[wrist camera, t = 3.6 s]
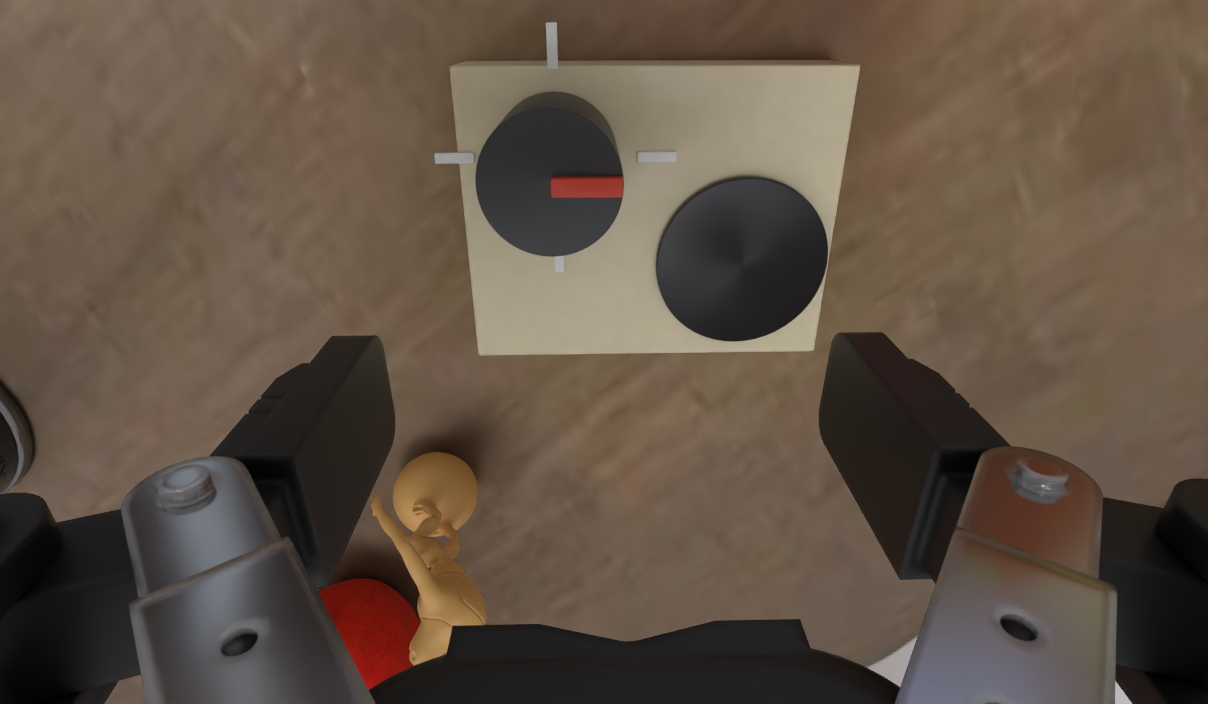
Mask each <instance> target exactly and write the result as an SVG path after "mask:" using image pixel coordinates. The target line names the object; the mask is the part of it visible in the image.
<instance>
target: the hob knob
mask: <svg viewBox="0 0 1208 704" xmlns="http://www.w3.org/2000/svg"><path fill="white" fill-rule="evenodd" d="M475 186H476V193H477V198H478V201H479V204H480V207H481V209H482V212H483V214H484V216H485V217H486V219H487V221H488V223H489V224H490V225H491V226H492V228H493V229H494V230H495V231H496V232H497V233H498V234H499V235H500V236H501V237H502V238H503V239H504V240H506V241H507V242H508V243H510V244H511V245H513V246H514V247H516V248H518V249H520V250H523V251H525V252H528V253H531V254H534V255H540V256H549V257H555V256H565V255H570V254H573V253H576V252H579V251H581V250H583V249H585V248H587V247H589V246H591V245H592V244H594V243H595V242H596V241H598V240H599V239H600V238H601V237H602V236H603V235H604V234H605V233H606V232H607V231H608V229H609V228H610V227H611V225H612V224H613V222H614V220H615V218H616V216H617V215H618V212H619V209H620V207H621V203H622V199H623V192H624V176H623V170H622V165H621V161H620V157H619V153H618V149H617V144H616V140H615V137H614V134H613V132H612V130H611V127H610V125H609V124H608V122H607V120H606V119H605V117H604V116H603V115H602V114H601V113H600V111H599V110H597V109H596V108H595V107H594V106H593V105H592V104H590V103H589V102H587V101H586V100H584V99H582V98H580V97H578V96H575V95H572V94H569V93H564V92H554V91H553V92H543V93H539V94H535V95H533V96H530V97H528V98H526V99H524V100H522V101H521V102H520V103H518V104H517V105H516V106H514V107H513V108H512V109H511V110H510V111H509V113H508V114H507V115H506V116H505V117H504V119H503V120H502V121H501V122H500V124H499V125H498V126H497V127H496V128H495V130H494V131H493V132H492V133H491V135H490V136H489V137H488V139H487V140H486V142H485V144H484V146H483V147H482V150H481V152H480V155H479V158H478V162H477V166H476V174H475Z"/></svg>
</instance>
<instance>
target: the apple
mask: <svg viewBox="0 0 1208 704" xmlns="http://www.w3.org/2000/svg"><path fill="white" fill-rule="evenodd" d="M318 593H319V595H320V597H321V599H322V601H323V603H324V605H325V607H326V609H327V610H328V612H329V614H330V616H331V618H332V620H333V622H334V624H335V626H336V628H337V630H338V632H339V634H340V636H341V638H342V640H343V641H344V643H345V645H346V647H347V649H348V651H349V653H350V655H351V657H352V659H353V661H354V663H355V665H356V667H357V669H358V671H359V672H360V674H361V676H362V678H363V680H364V682H365V684H366V686H367V688H368V690H369V689H371V688H372V687H374V686H376V685H377V684H379V683H381V682H382V681H384V680H386V679H387V678H389V677H391V676H392V675H395V674H397V673H399V672H401V671H403V670H405V669H407V668H409V667H411V666H414V665H413V664H412V663H411V661H410V659H409V655H410V649H409V648H410V643H411V641H412V639H413V637H414V635H415V634H416V632H417V630H418V628H419V626H420V624H421V623H420V621H419V619H418V618H417V616H416V614H415V612H414V611H413V609H412V607H411V605H410V604H409V602H408V601H407V600H406V599H404V598H403V597H402V596H401V595H400V594H399V593H398V592H397V591H396V590H395V589H393V588H391V587H389V586H388V585H386V584H384V583H383V582H381V581H377V580H373V579H369V578H361V579H350V580H346V581H343V582H340V583H336V584H333V585H330V586H328V587H325V588H324V589H322V590H321V591H319V592H318Z"/></svg>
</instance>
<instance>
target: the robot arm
mask: <svg viewBox="0 0 1208 704" xmlns="http://www.w3.org/2000/svg"><path fill="white" fill-rule="evenodd" d="M819 428H820V434H821V437H822V440H823V443H824V445H825V446H826V448H827V450H828V452H829V454H830V455H831V457H832V459H833V461H834V462H835V464H836V466H837V468H838V470H839V471H840V473H841V475H842V477H843V479H844V480H845V482H846V484H847V486H848V488H849V489H850V491H851V493H852V495H853V496H854V498H855V500H856V502H857V504H858V505H859V507H860V509H861V511H862V513H863V514H864V516H865V518H866V520H867V522H868V523H869V525H870V527H871V529H872V530H873V532H874V534H875V536H876V538H877V539H878V541H879V543H880V545H881V547H882V548H883V550H884V552H885V554H886V556H887V557H888V559H889V561H890V563H891V564H892V566H893V568H894V570H895V572H896V573H897V575H898V577H899V579H900V580H904V579H933V581H934V582H935V584H936V585H935V588H934V591H933V594H932V597H931V600H930V602H929V605H928V608H927V611H926V614H925V617H924V620H923V623H922V626H921V629H920V632H919V634H918V637H917V640H916V643H915V646H914V649H913V652H912V655H911V658H910V661H909V664H908V667H907V670H906V672H905V675H904V678H903V681H902V684H901V687H899V686H897V685H896V684H894V683H893V682H891V681H889V680H888V679H886V678H885V677H883V676H881V675H879V674H877V673H875V672H874V671H871V670H870V669H868V668H866V667H864V666H862V665H860V664H857V663H855V662H852V661H850V660H848V659H845V658H843V657H840V656H837V655H833V654H830V653H827V652H824V651H820V650H816V649H811V648H810V646H809V643H808V640H807V638H806V635H805V632H804V629H803V626H802V624H801V621H800V619H786V620H732V621H713V622H709V623H705V624H701V625H697V626H693V627H689V628H685V629H681V630H677V631H673V632H669V633H665V634H661V635H657V636H653V637H650V638H646V639H642V640H637V641H629V642H625V641H618V640H613V639H608V638H604V637H599V636H594V635H589V634H584V633H579V632H575V631H570V630H565V629H560V628H555V627H551V626H546V625H541V624H516V625H462V626H453V627H452V631H451V636H450V640H449V645H448V650H447V654H446V655H444V656H440V657H436V658H433V659H430V660H427V661H425V662H422V663H419V664H416V665H414V666H411V667H409V668H407V669H405V670H403V671H401V672H399V673H397V674H395V675H392V676H391V677H389V678H387V679H386V680H384V681H382V682H381V683H379V684H377V685H376V686H374V687H372V688H371V689H369V690H368V688H367V686H366V684H365V682H364V680H363V678H362V676H361V674H360V672H359V671H358V669H357V667H356V665H355V663H354V661H353V659H352V657H351V655H350V653H349V651H348V649H347V647H346V645H345V643H344V641H343V640H342V638H341V636H340V634H339V632H338V630H337V628H336V626H335V624H334V622H333V620H332V618H331V616H330V614H329V612H328V610H327V609H326V607H325V605H324V603H323V601H322V599H321V597H320V595H319V593H318V591H317V589H316V588H317V587H328V586H329V584H330V581H331V579H332V577H333V575H334V573H335V570H336V568H337V566H338V564H339V562H340V559H341V557H342V555H343V553H344V551H345V548H346V546H347V544H348V542H349V540H350V537H351V535H352V533H353V531H354V529H355V526H356V524H357V522H358V520H359V518H360V515H361V513H362V511H363V509H364V507H365V504H366V502H367V500H368V498H369V496H370V493H371V491H372V489H373V487H374V485H375V482H376V480H377V478H378V476H379V473H380V471H381V469H382V467H383V465H384V462H385V460H386V458H387V456H388V454H389V451H390V449H391V447H392V444H393V440H394V434H395V412H394V406H393V400H392V394H391V388H390V383H389V377H388V371H387V365H386V359H385V354H384V348H383V345H382V342H381V340H380V338H379V337H378V336H332V337H331V338H330V339H329V340H328V341H327V342H326V344H325V345H324V346H323V347H322V349H321V350H320V351H319V352H318V354H317V355H316V356H315V357H314V359H313V360H312V361H311V362H310V363H301V364H300V365H298V366H296V367H295V368H293V369H291V370H290V371H288V372H286V373H285V374H283V375H281V376H280V377H278V378H276V379H275V381H274V382H273V383H272V384H271V385H270V386H269V387H268V389H267V390H266V391H265V392H264V393H263V394H262V396H261V399H258V400H257V401H256V403H255V404H254V405H253V406H252V407H251V408H250V410H249V414H245V415H244V417H243V418H242V419H241V420H240V421H239V422H238V424H237V425H236V426H235V427H234V428H233V429H232V431H231V432H230V433H229V434H228V435H227V436H226V438H225V439H224V440H223V441H222V442H221V443H220V444H219V446H218V447H217V448H216V449H215V450H214V451H213V453H212V454H211V455H210V456H209V457H201V458H195V459H191V460H186V461H183V462H180V463H176V464H174V465H171V466H168V467H166V468H164V469H162V470H160V471H157V472H156V473H154V474H152V475H150V476H148V477H147V478H145V479H144V480H143V481H141V482H140V483H139V484H137V485H136V486H135V487H134V488H133V489H132V490H131V491H130V492H129V493H128V494H127V496H126V497H125V499H124V500H123V503H122V506H121V509H119V510H115V511H110V512H105V513H101V514H96V515H91V516H86V517H81V518H77V519H72V520H67V521H62V522H57V523H56V522H55V520H54V518H53V516H52V514H51V512H50V510H49V508H48V506H47V504H46V502H45V500H44V499H43V498H41V497H40V496H37V495H34V494H30V493H7V494H5V493H6V492H7V491H8V490H9V489H11V488H12V487H13V486H14V485H16V484H17V483H18V482H19V481H20V480H21V479H22V478H23V477H24V475H25V474H26V472H27V471H28V468H29V466H30V463H31V459H32V451H33V449H32V439H31V434H30V431H29V428H28V425H27V423H26V421H25V419H24V417H23V415H22V413H21V411H20V410H19V408H18V407H17V405H16V404H15V402H14V401H13V400H12V399H11V397H10V396H9V395H8V394H7V393H6V392H5V391H4V389H3V388H2V387H1V386H0V704H104V703H105V701H106V700H107V698H108V697H109V695H110V694H111V692H112V690H113V689H114V687H115V686H116V684H117V682H118V681H119V680H122V679H126V678H129V677H133V676H136V675H140V674H141V677H142V683H143V688H144V694H145V699H146V704H1115V680H1116V682H1117V683H1118V684H1119V686H1120V687H1121V689H1122V690H1123V691H1124V692H1125V694H1126V695H1127V697H1128V698H1129V700H1130V701H1131V702H1132V704H1208V479H1188V480H1184V481H1181V482H1179V483H1178V484H1177V485H1175V487H1174V489H1173V491H1172V493H1171V495H1170V497H1169V499H1168V501H1167V503H1166V505H1165V507H1164V508H1159V507H1154V506H1148V505H1143V504H1137V503H1132V502H1126V501H1121V500H1115V499H1110V498H1105V497H1103V495H1102V491H1101V489H1100V487H1099V486H1098V485H1097V483H1096V482H1095V481H1094V480H1093V479H1092V478H1091V477H1090V476H1089V475H1088V474H1086V473H1085V472H1084V471H1082V470H1081V469H1079V468H1078V467H1076V466H1075V465H1073V464H1071V463H1069V462H1067V461H1065V460H1063V459H1061V458H1058V457H1056V456H1054V455H1051V454H1048V453H1045V452H1041V451H1038V450H1034V449H1028V448H1023V447H1011V446H1010V445H1009V444H1008V443H1007V442H1006V440H1005V439H1004V438H1003V437H1002V436H1001V435H1000V434H999V433H998V432H997V431H996V430H995V429H994V428H993V427H992V426H991V425H990V424H989V423H988V422H987V421H986V420H985V419H984V418H983V417H982V416H981V415H980V414H979V413H978V412H977V411H976V410H975V409H974V408H969V403H968V402H967V401H966V400H965V399H964V398H963V397H962V396H961V395H960V394H959V393H955V389H954V388H953V387H952V386H951V385H950V384H949V383H948V382H947V381H946V380H945V379H944V378H943V377H942V376H941V375H940V374H939V373H937V372H936V371H934V370H932V369H930V368H928V367H927V366H925V365H923V364H921V363H919V362H917V361H916V360H914V359H908V358H907V357H906V356H905V355H904V354H903V353H902V352H901V351H900V350H899V349H898V348H897V347H896V346H895V345H894V343H893V342H892V341H891V340H890V339H889V338H888V337H887V336H886V335H885V334H884V333H881V332H856V333H837V334H836V335H835V337H834V338H833V341H832V344H831V348H830V353H829V358H828V364H827V369H826V375H825V380H824V386H823V391H822V397H821V402H820V408H819Z"/></svg>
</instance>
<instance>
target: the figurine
mask: <svg viewBox="0 0 1208 704" xmlns="http://www.w3.org/2000/svg"><path fill="white" fill-rule="evenodd" d="M371 499H372V502H373V503H370V505H371V508H372V509H373V514H372V515H373V516H377V518H378V520H379V522H380V524H381V526H382V528H383V529H384V531H385V532H386V533H387V534H388V535H389V536H390V537H391V538H392V539H393V541H394V543H395V546H396V548H397V549H398V551H399V552H400V554H401V555H402V558H403V560H404V562H405V565H406V567H407V569H408V571H409V573H410V575H411V577H412V578H413V580H414V582H415V583H416V585H417V587H418V590H419V593H420V595H419V598H418V603H417V609H418V614H419V618H420V620H421V624H420V626H419V628H418V630H417V632H416V634H415V635H414V637H413V639H412V641H411V643H410V648H409V649H410V655H409V659H410V661H411V663H412V664H413V665H416V664H419V663H422V662H425V661H427V660H430V659H433V658H436V657H440V656H441V655H443V654H444V653H446V652H447V650H448V645H449V640H450V636H451V631H452V627H453V626H462V625H484V624H485V621H486V608H485V603H484V600H483V597H482V595H481V593H480V591H479V590H478V588H477V587H476V586H475V584H474V583H473V581H472V580H471V579H470V578H469V577H467V576H466V570H465V568H464V567H463V566H462V565H459V564H458V563H457V562H456V561H455V560H453V559H454V558H455V557H456V556H457V555H458V553H459V551H460V544H459V541H460V535H459V533H458V532H457V531H456V530H457V529H459V528H460V527H461V526H462V525H464V524H465V523H466V522H467V520H468V519H469V518H470V516H471V515H472V513H473V511H474V509H475V506H476V503H477V499H478V486H477V481H476V478H475V476H474V473H473V472H472V470H471V469H470V467H469V466H468V465H467V464H466V463H465V462H464V461H463V460H461V459H460V458H458V457H456V456H454V455H452V454H448V453H443V452H432V453H427V454H424V455H421V456H419V457H417V458H415V459H413V460H412V461H410V462H409V463H408V464H407V465H406V466H405V467H404V468H403V469H402V471H401V472H400V474H399V475H398V477H397V479H396V482H395V485H394V489H393V504H394V508H395V511H396V514H397V516H398V517H399V519H400V520H401V522H402V523H403V524H404V525H405V526H406V527H407V528H409V529H410V530H411V531H413V532H414V533H413V534H412V535H411V536H410V537H409V538H407V537H406V535H405V534H404V532H403V531H402V530H401V528H400V527H399V526H398V524H397V523H396V522H395V521H394V520H393V519H392V518H391V517H390V516H389V515H388V514H387V513H386V512H385V510H384V508H383V506H382V504H381V502H380V499H379V498H378V494H377V492H375V497H374V496H372V497H371ZM443 535H445V536H446V537H448V538H450V540H451V541H450V542H448V543H447V544H446V545H445V546H444V547H443V549H442V548H441V546H440V544H439V543H438V542H437V541H436V540H435V539H428V538H426V537H427V536H431V537H436V536H443ZM428 567H431V568H432V569H431V570H429V569H428ZM487 625H490V624H489V622H487ZM493 625H495V622H494V621H493Z"/></svg>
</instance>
